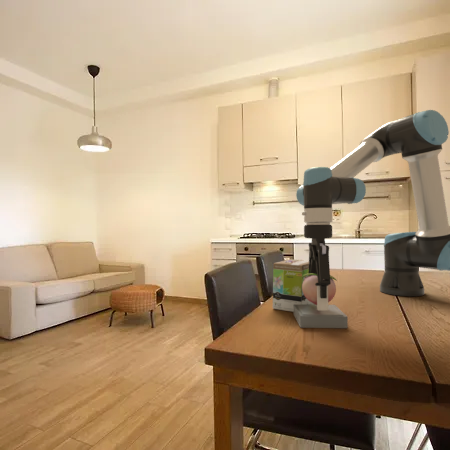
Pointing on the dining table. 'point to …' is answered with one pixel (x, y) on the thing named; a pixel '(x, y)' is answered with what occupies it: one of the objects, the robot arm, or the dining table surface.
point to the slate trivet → (319, 317)
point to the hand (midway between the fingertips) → (318, 305)
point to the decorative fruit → (311, 288)
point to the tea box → (289, 284)
